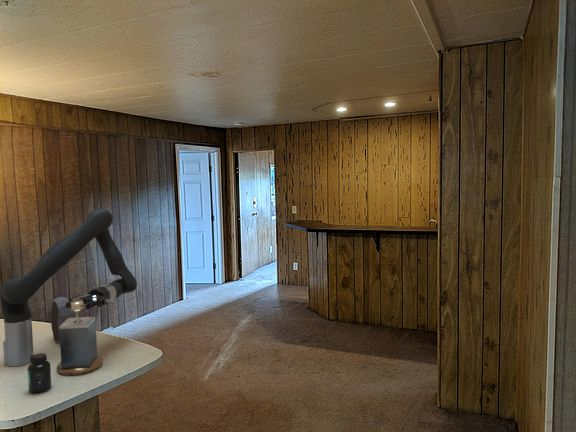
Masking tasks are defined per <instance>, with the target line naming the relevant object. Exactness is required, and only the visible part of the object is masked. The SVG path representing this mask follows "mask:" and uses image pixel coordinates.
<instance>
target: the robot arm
mask: <svg viewBox="0 0 576 432" xmlns="http://www.w3.org/2000/svg"><path fill="white" fill-rule="evenodd" d="M113 219H114V218H113V215H112V213H111V212H110V211H109V210H106V209H104V208H101V209H96V210H93V211H91V212H90V213H88V214H87V216H86V220H85V222H84V223H82V224H81V225H80V226H79V227H78V228H77V229H75V230H73V231H72V232H70V233H68V234H67V235H65V236H64V237H62V238H60V239H59V240H58V241H56V242H55V243H54V244H52V246H50V247H49V248H48V249H47V250H46V251H45V252H44V253H43V255H42V256H41V257H40V258H39V260H38V261H37V263H36V264H35V265H34V266H33V268H32V269H31V270H29V271H28V272H27V273H26V274H25V275H23V276H21V278H18V277H17V278H16V277H14V278H9V279H7V280H6V281H5V282H3V283H2V285H1V287H0V304H1V305H0V306H1V314H2V317H3V324H4V327H3V329H4V339H5V340H3V341H2V347H3V348H2V349H3V361H4V362H3V365H4V366H8V367H20V366H24V365H27V364H31V363H30V357H31V356H32V355H35V353H34V340H33V339H34V338H33V323H32V319H33V318H32V311H31V307H30V306H29V300H30V299H31V298H32V297H33V296H34V295H35V293H37V291H38V290H39V289H41V287H42V286H43V285H44V284H45V283H46V282H47V281H48V280H49V279H51V278H52V277H53V276H55V275H56V274H57V273H58V272H59V271H60V270H61V269H63V268H64V267H65V266H66V265H67V264H68V263H70V261H73V259H74V258H75V257H76V256H77V255H78V254H80V253H81V252H82V250H83V249H84V248H85V247H86V246H87V245H88V244H90V243H91V241H92V240H94V239H95V240H96V241H97V243H98V245H99V247H100V250H101V252H102V253H103V257H104V259H105V262H106V265H107V267H108V269H109V272H110V274H111V275H113V276H119V277H120V278H118V279H115V280H113V281H112V282H109V283H107V284H103V285H100V286H97V287H95V288H93V289H91V290H90V291H89V292H88V294H85V295H81V294H78V295H75V296H73V297H70V298H68V301H69V302H67V303H66V308H70V307H71V302H73V301H83V303H84V306H85V310H90V309H92V308H97V307H98V308H101V307H104V306H105V305H107V304H109V303H110V302H112V301H113V300H115V299H117V298H119V297H120V296H121V295H124V294H127V293H132V292H134V291H136V289H137V287H138V282H137V280H136V278H135V276H134V275H133V273H132V272H131V271H130V269H129V268H128V267H127V265H126V262H125V259H124V257H123V254H122V253H121V251H120V249H119V247H118V246H117V245H116V243H115V242H114V240H113V238H112V236H111V233H110V229H109V228H110V227H111V226H112V224H113Z"/></svg>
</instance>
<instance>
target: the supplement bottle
mask: <svg viewBox="0 0 576 432" xmlns="http://www.w3.org/2000/svg"><path fill="white" fill-rule="evenodd" d="M51 370H52V369H51V362H49V361H48V358H47V354H46V353H44V352H41V353H40V352H39V353H36V354H35V353H34V355H32V356H31V357H30V363H29V365H28V366H27V384H28V385H27V386H28V392H29V393H30V394H32V395H33V394H34V395H37V394H43V393H45V392H47V391H49V390H50V389H51V388H52V376H51V375H52V371H51Z"/></svg>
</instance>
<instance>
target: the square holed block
mask: <svg viewBox="0 0 576 432" xmlns="http://www.w3.org/2000/svg"><path fill="white" fill-rule="evenodd" d="M79 317H80V316H79ZM96 324H97V323H96V316H82V317H80V322H76V317H75V318H68V319H67V320H66V321H65V322H64V323H63V324H61V325H60V326H59V330H60V342H59V349H60V362H59V363H58V364H57V366H56V373H57V374H58V375H60V376H63V377H77V376H83V375H84V376H85V375H88V374H90V373H93V372H96V371H97V370H99V369H100V368H101V367H102V366H103V363H104V361H103V360H104V359H103V358H102V356H100V355H98V343H97V340H98V339H97V325H96Z"/></svg>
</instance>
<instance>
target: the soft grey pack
mask: <svg viewBox="0 0 576 432" xmlns="http://www.w3.org/2000/svg"><path fill="white" fill-rule="evenodd" d="M67 302H69V298H67V297H66V296H65V297H63V296H58V297H57V298H56V299H55V298H54V299H52V301H51V305H50V325H51V332H52V336H53V340H54V341H55V342H57V343H60V330H59V326H60V325H61V324H63V323H64V322H65V321H66V320H67V319H68V318H76V314H75V312H73V311H71V307H70V308H66V303H67Z"/></svg>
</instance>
